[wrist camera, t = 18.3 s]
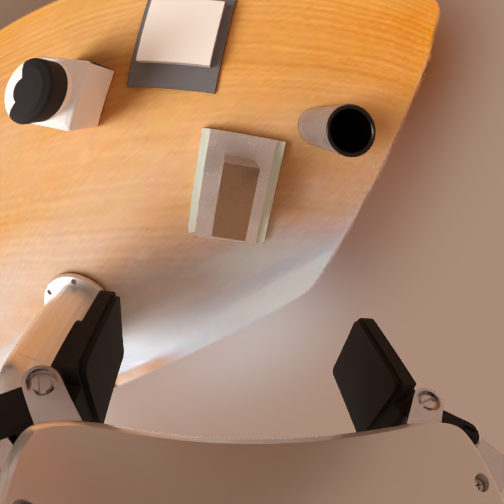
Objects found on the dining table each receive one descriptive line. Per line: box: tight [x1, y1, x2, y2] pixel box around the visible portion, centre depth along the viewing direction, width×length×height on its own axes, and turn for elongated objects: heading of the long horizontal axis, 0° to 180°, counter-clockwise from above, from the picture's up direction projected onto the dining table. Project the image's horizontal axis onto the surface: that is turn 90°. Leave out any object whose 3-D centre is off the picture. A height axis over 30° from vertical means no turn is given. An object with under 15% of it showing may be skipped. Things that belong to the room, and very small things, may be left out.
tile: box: [136, 0, 225, 68], centre depth 25 cm, size 2×8×8 cm
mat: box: [127, 0, 236, 94], centre depth 26 cm, size 12×10×1 cm
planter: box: [298, 104, 376, 157], centre depth 27 cm, size 4×4×10 cm
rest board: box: [188, 128, 286, 243], centre depth 33 cm, size 12×9×1 cm
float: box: [194, 129, 277, 245], centre depth 30 cm, size 12×7×6 cm, turn 169°
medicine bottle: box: [5, 57, 114, 131], centre depth 22 cm, size 7×7×12 cm
